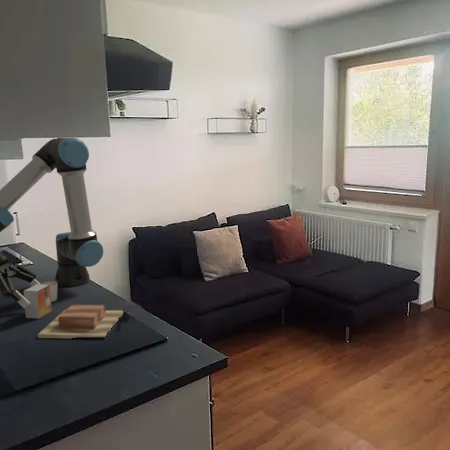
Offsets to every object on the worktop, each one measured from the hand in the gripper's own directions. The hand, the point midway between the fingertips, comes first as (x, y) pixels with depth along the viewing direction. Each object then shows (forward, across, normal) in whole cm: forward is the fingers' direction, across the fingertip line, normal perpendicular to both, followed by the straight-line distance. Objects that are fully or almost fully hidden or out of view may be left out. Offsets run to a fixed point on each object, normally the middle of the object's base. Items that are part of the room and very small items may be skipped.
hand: (36, 299), depth 165 cm
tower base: (+18, +8, +10) cm, 23 cm away
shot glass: (+2, -16, -6) cm, 18 cm away
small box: (+5, -1, -4) cm, 6 cm away
